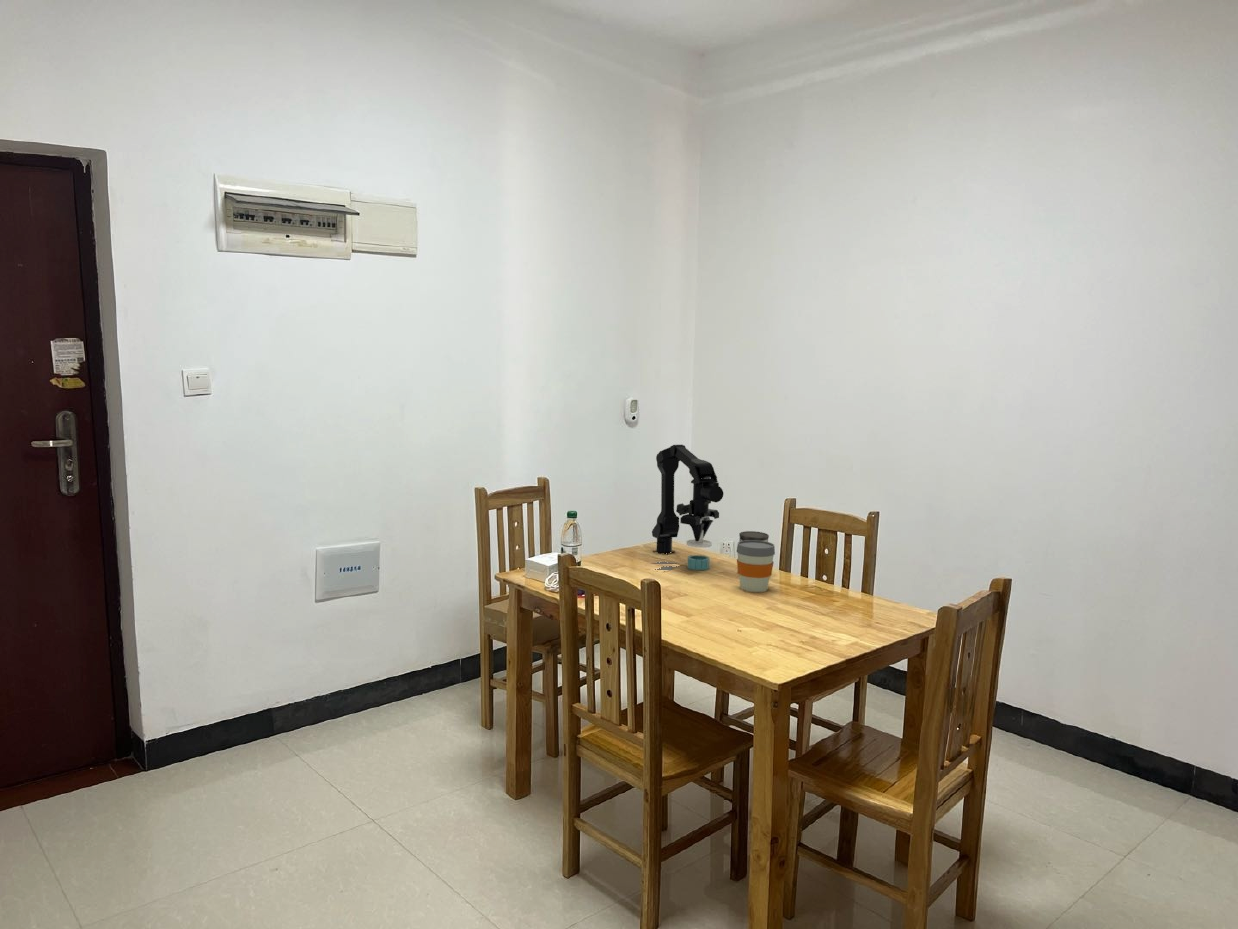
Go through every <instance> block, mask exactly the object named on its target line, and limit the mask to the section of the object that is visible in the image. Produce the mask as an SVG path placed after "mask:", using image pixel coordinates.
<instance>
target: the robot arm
mask: <svg viewBox="0 0 1238 929" xmlns="http://www.w3.org/2000/svg"><path fill="white" fill-rule="evenodd" d="M655 457H656V458H655V460H656V466H657V468H658V471H659V472H660V473H661V474H660V476H661V485H660V486H661V487H660V488H661V496H660V498H661V500H660V501H661V504H660V507H661V509H660V513H659V514H658V516H657V517H656V524H655V525H654V527H653V528H652V530H651V535H652V537H653V538H655V539H656V550H653V551H652V552H653V553H655V552H658V553H657V554H661V553H664V554H663V555H666V553H667V555H669V554H668V553H670V552H674V553H676V550H673V538H677V537H678V534H679V530H680V524H683V525H689V527H691V530H692V533H693V536H694V540H695V541H699V539H700V536H701V533H702V530H704V532H703V539H704V538H705V536H706V534H707V532H708V530H709V528H710V526H711V525H712V524H713V522H714V520H713V519H715V520H716V519H720V512H719V511H718V510H717V509H711V508H710V507H709V505H710V504H711V503H718V502H720V501H722V500H723V497H724V490H723V489H722V487H721V486H720V482H719V480H718V476H717V473H716V472H715V468H714V466H713V464H712V463H711V462H710V461H708V460H704V459H700V458H698V456H696V455H695V454H694V453H693V452H691V451H690V450H689V449H688V448H686V446H685V445H684V444H672V445H671V446H669V447H667V448H664V449H662V450H660V451H658V453H657V454H656V456H655ZM680 462H681V463H683V465H684V466H686V467H687V468H688V471H689V474H690V476H691V477H692V478H693V479H692V480H691V481H690V484H693V485H692V486H693V487H692V488H693V489H692V499H690V500H689V504H684V503H678V504H677V505H676V509H675V473H676V472H677V470H678V469H679V466H680V465H679V464H680ZM676 513H678V514H679V516H681V517H679V516H678V515H677V514H676ZM710 517H711V518H713V519H711V518H710ZM670 554H671V553H670Z"/></svg>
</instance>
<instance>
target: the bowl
mask: <svg viewBox="0 0 1238 929" xmlns="http://www.w3.org/2000/svg"><path fill="white" fill-rule="evenodd" d="M686 567H687V569H690V570H693V571H706V570H709V569H710V557H709V556H707V555H700V554H693V555H689V556H687V566H686Z"/></svg>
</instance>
